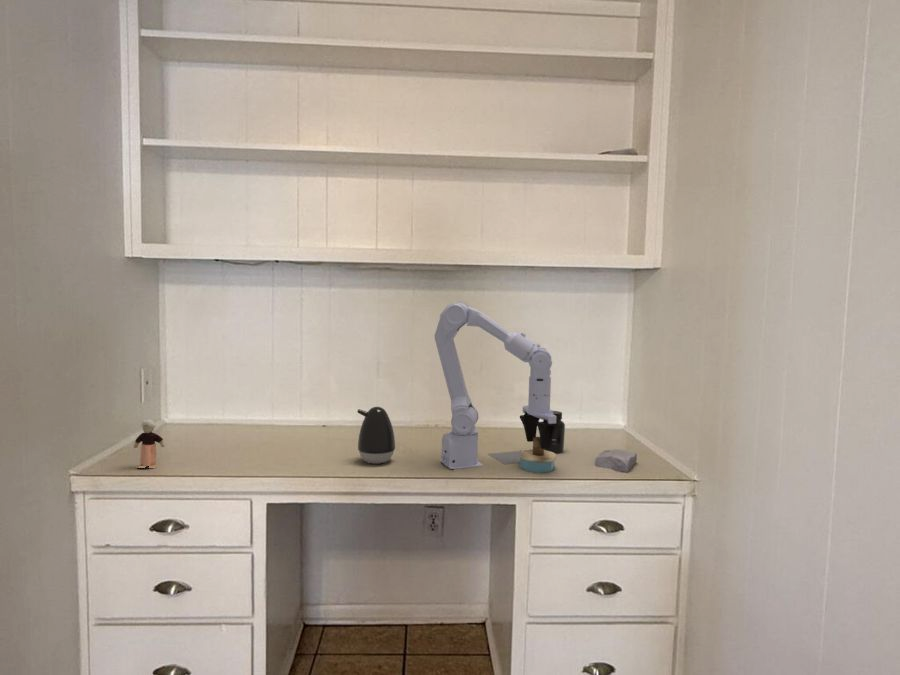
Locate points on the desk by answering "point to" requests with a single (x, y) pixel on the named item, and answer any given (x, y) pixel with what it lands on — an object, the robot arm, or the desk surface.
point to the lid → (538, 453)
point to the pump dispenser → (376, 436)
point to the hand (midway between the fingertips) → (537, 444)
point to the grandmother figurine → (148, 443)
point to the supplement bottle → (557, 435)
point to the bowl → (536, 466)
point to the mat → (507, 457)
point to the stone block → (616, 460)
